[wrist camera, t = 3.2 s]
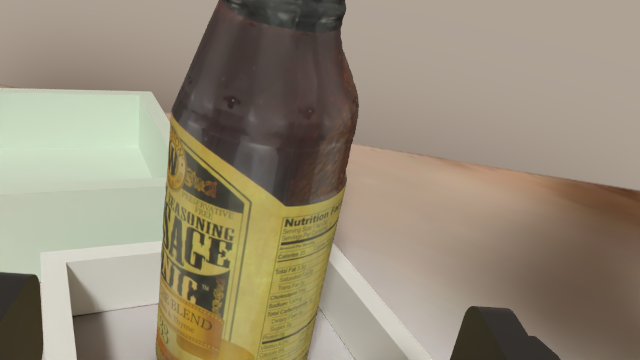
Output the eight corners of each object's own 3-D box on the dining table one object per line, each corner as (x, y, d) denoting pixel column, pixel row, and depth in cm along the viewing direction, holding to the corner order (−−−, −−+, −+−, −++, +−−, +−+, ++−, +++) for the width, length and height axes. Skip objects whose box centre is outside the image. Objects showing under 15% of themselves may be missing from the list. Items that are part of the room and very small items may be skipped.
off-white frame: (310, 270, 32) (318, 225, 31) (461, 475, 21) (483, 418, 20) (42, 306, 26) (39, 252, 25) (58, 625, 15) (53, 555, 14)
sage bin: (149, 152, 44) (151, 91, 42) (200, 263, 31) (207, 183, 29) (-100, 158, 37) (-112, 85, 35) (-165, 306, 24) (-190, 204, 22)
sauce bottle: (140, 346, 25) (156, -169, 17) (269, 321, 28) (336, -127, 20) (176, 469, 20) (225, -188, 12) (330, 422, 23) (454, -127, 14)
